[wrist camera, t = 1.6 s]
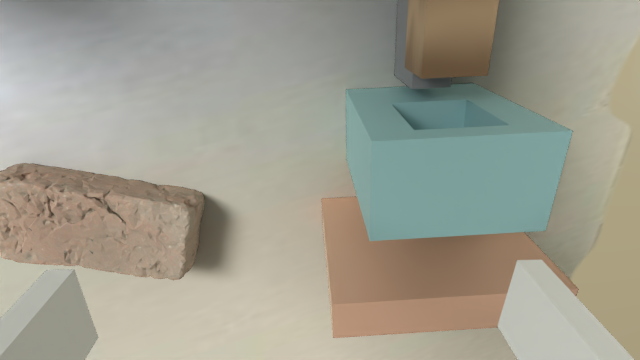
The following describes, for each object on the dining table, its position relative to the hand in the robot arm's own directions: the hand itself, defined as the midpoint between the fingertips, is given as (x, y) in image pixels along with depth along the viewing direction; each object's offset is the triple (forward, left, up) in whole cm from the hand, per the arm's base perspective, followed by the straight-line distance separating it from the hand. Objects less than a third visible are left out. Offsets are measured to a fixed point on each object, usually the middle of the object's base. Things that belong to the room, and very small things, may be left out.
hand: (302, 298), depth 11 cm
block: (+2, +9, -23) cm, 25 cm away
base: (+11, +9, -23) cm, 27 cm away
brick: (+9, -19, -24) cm, 31 cm away
